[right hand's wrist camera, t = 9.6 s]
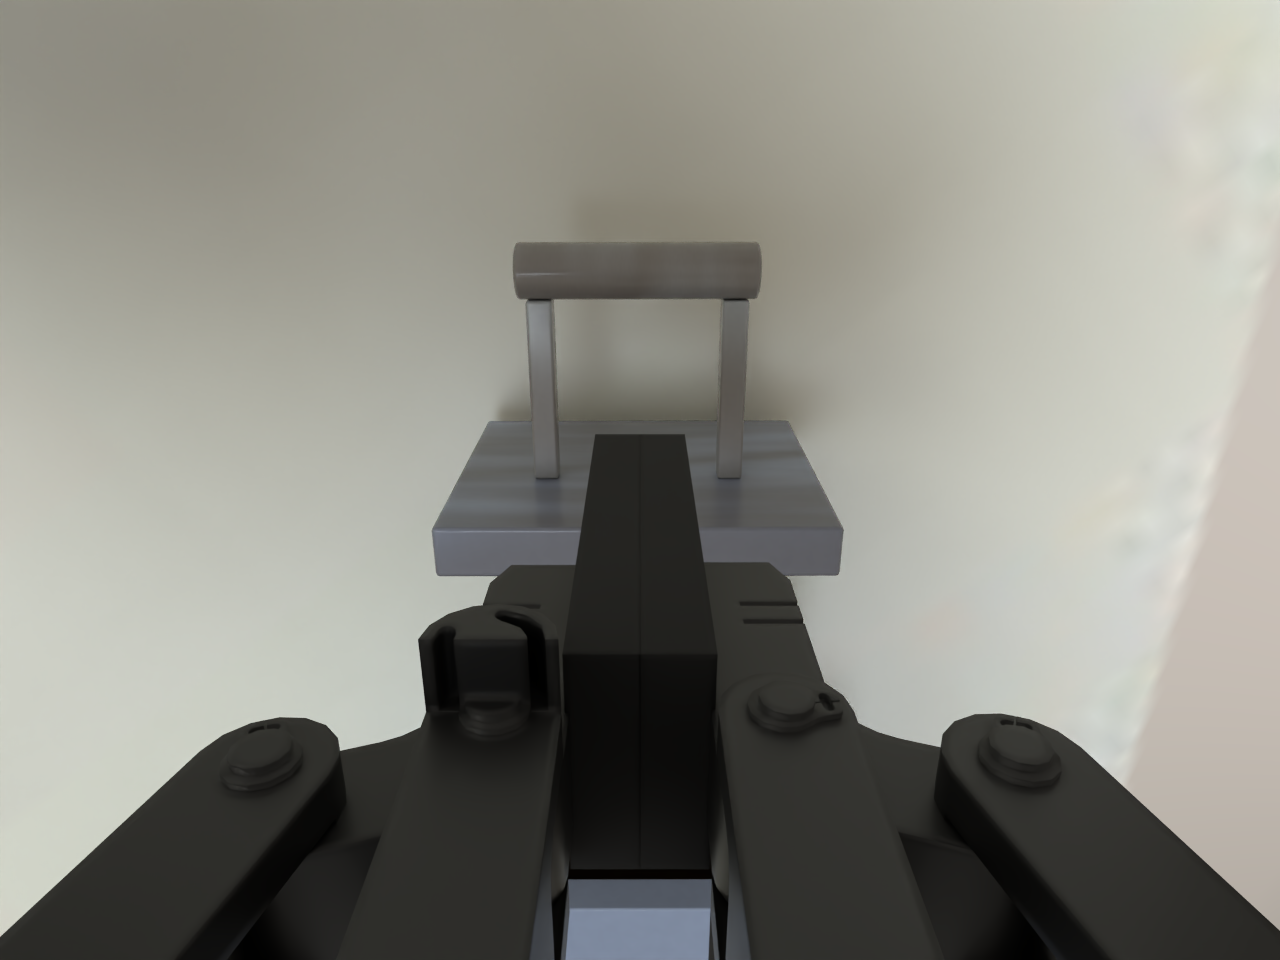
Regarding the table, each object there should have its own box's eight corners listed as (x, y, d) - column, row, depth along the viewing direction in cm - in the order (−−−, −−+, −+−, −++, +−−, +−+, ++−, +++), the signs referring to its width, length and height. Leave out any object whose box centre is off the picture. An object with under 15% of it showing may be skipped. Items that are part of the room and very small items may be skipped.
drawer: (474, 223, 24) (403, 262, 16) (801, 222, 24) (870, 260, 16) (522, 899, 33) (489, 1108, 26) (757, 898, 33) (789, 1107, 26)
